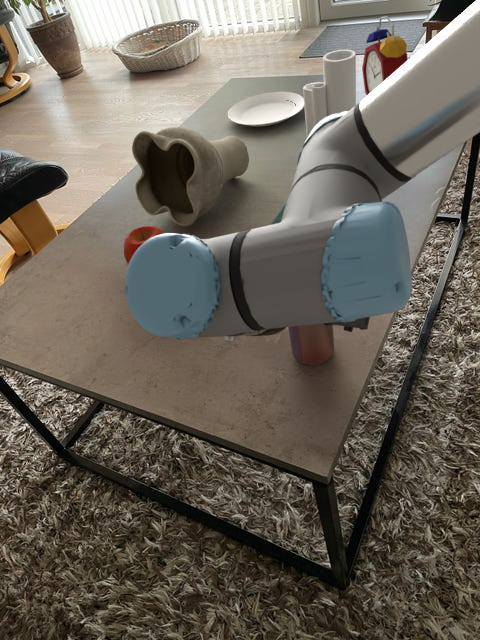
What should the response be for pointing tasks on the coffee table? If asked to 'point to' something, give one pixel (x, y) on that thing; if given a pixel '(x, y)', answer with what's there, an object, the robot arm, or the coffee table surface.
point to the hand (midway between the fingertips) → (318, 307)
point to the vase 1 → (185, 171)
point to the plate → (266, 108)
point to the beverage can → (312, 343)
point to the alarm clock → (382, 57)
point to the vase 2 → (331, 88)
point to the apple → (138, 240)
